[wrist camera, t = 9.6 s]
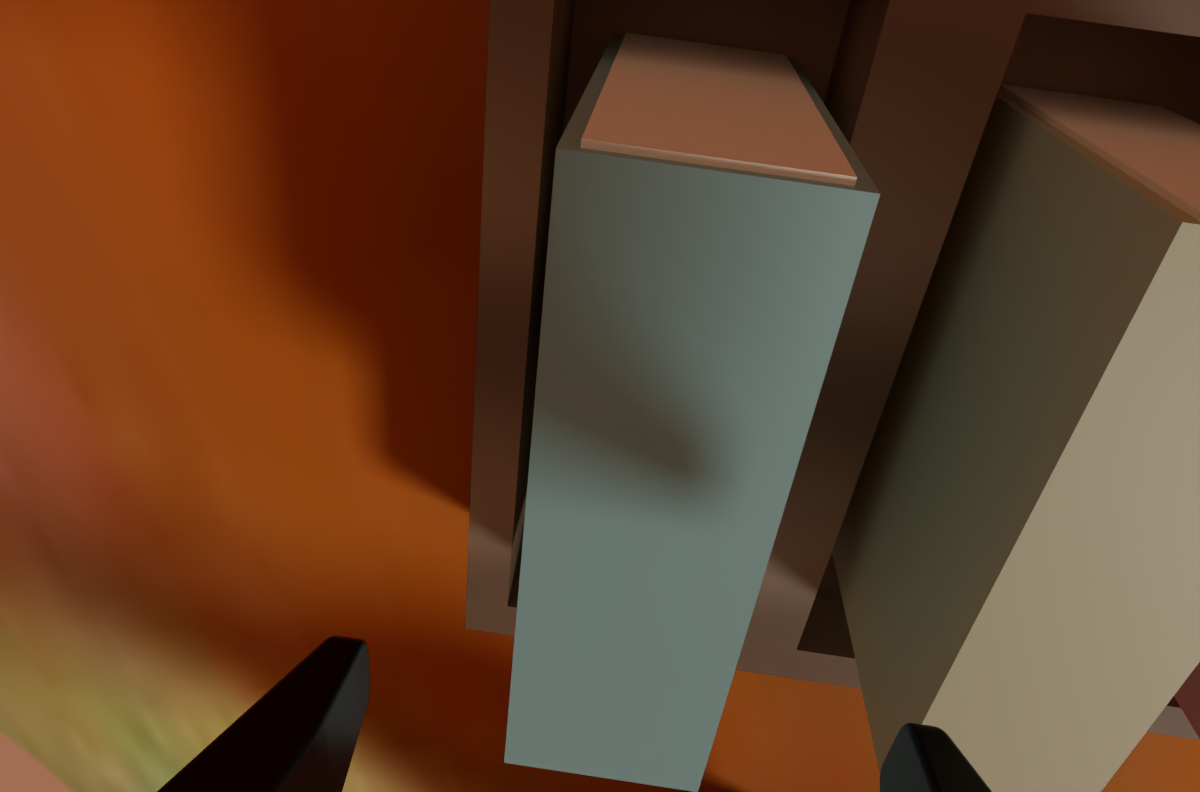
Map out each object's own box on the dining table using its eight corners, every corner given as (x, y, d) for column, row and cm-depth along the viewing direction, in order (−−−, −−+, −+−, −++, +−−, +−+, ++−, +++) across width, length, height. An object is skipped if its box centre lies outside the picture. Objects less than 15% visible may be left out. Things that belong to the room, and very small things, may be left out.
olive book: (960, 544, 21) (1076, 824, 15) (826, 524, 21) (885, 794, 15) (1167, 104, 15) (1506, 258, 9) (981, 79, 15) (1187, 213, 9)
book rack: (1229, 636, 23) (1317, 757, 20) (495, 526, 23) (465, 628, 20) (1701, 24, 15) (1987, 64, 11) (536, -135, 15) (495, -141, 12)
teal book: (694, 505, 21) (697, 792, 15) (561, 485, 21) (503, 763, 15) (797, 54, 15) (882, 184, 9) (613, 28, 16) (555, 138, 9)
